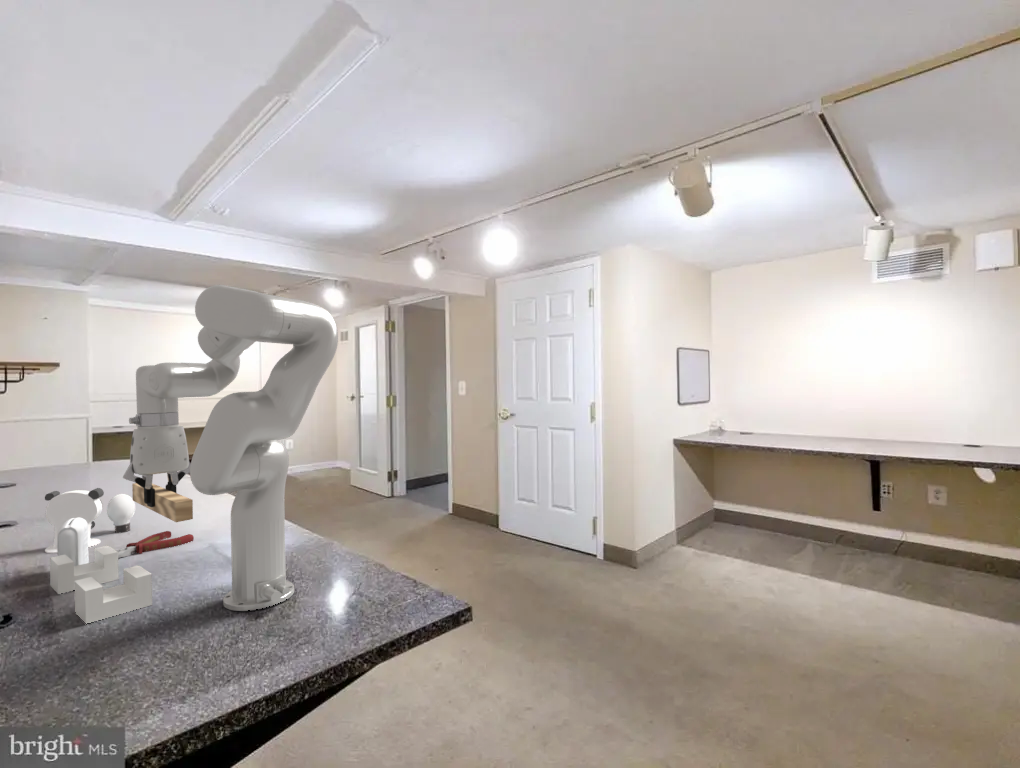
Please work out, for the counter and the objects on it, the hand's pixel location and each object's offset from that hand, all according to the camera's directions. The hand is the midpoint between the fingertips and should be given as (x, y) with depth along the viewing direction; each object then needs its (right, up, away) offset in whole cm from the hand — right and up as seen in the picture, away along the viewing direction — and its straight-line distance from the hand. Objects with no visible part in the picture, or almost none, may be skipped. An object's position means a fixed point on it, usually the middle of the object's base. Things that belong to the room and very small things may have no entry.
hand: (160, 503), depth 111 cm
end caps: (-7, -17, -8) cm, 20 cm away
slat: (0, -1, 0) cm, 1 cm away
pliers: (-19, -18, +22) cm, 34 cm away
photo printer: (-23, -17, +5) cm, 29 cm away
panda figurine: (-40, -18, +25) cm, 50 cm away
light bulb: (-38, -18, +39) cm, 57 cm away
